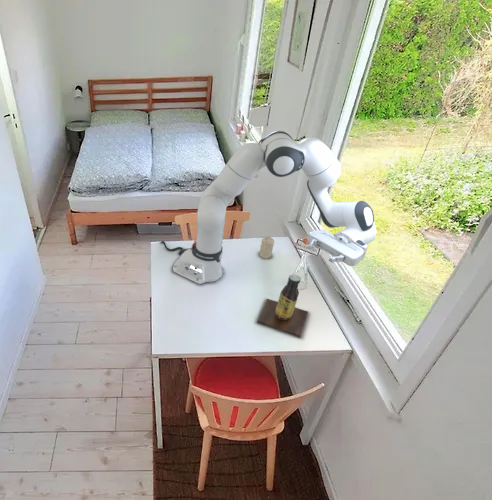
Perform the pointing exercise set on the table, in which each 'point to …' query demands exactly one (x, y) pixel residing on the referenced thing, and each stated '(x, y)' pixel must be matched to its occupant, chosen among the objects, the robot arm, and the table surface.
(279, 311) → the sauce bottle
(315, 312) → the table surface
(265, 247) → the candle
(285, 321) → the serving board
